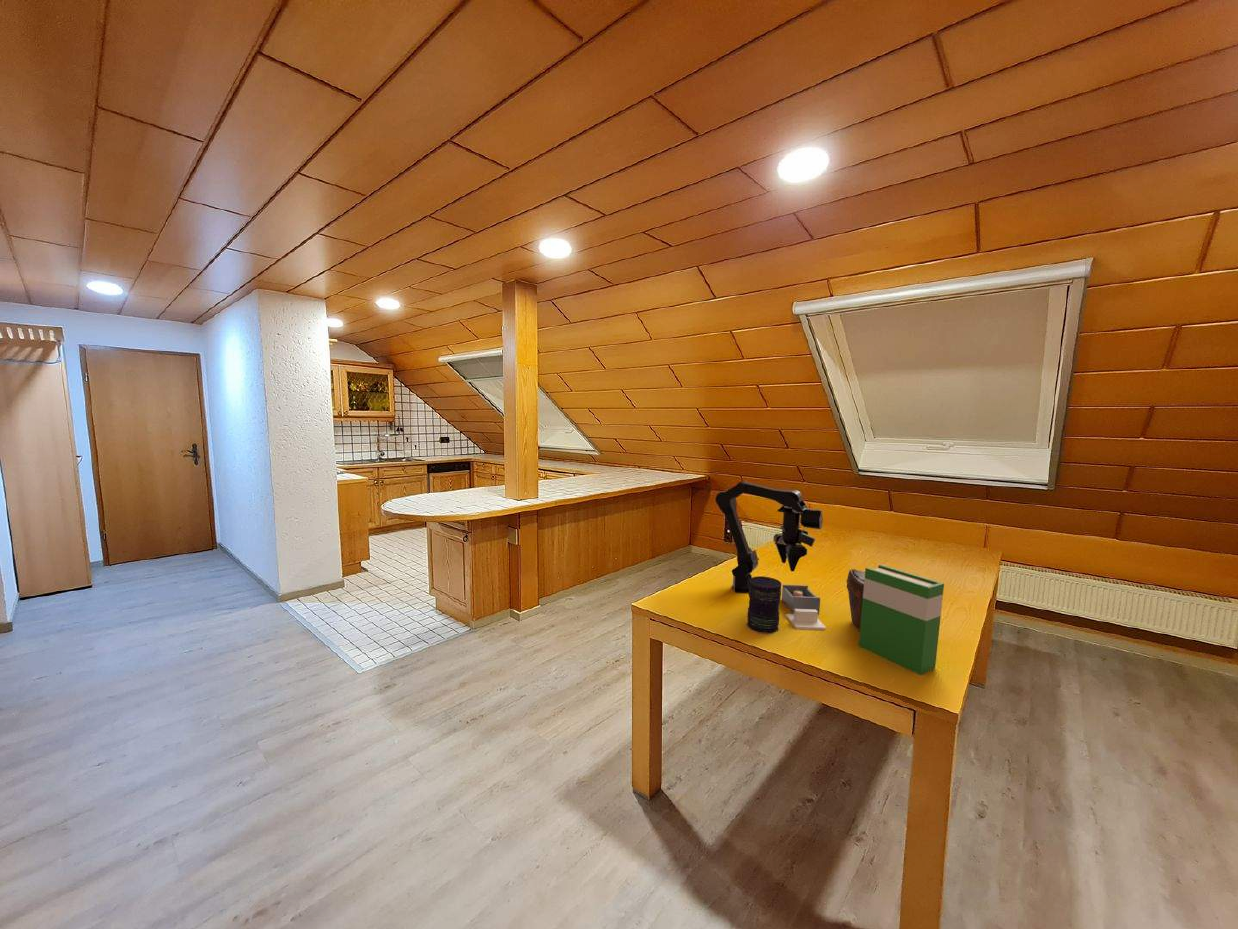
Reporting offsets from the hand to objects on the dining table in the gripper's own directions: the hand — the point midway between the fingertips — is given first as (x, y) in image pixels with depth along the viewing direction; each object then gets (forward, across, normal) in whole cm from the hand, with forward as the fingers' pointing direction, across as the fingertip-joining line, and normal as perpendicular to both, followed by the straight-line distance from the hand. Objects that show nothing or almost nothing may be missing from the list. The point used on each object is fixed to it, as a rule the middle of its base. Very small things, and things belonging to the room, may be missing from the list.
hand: (788, 567), depth 176 cm
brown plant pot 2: (+13, -21, -22) cm, 33 cm away
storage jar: (+13, -23, +15) cm, 30 cm away
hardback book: (+13, -40, -18) cm, 46 cm away
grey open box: (+12, -6, -3) cm, 14 cm away
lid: (+13, -19, 0) cm, 23 cm away
